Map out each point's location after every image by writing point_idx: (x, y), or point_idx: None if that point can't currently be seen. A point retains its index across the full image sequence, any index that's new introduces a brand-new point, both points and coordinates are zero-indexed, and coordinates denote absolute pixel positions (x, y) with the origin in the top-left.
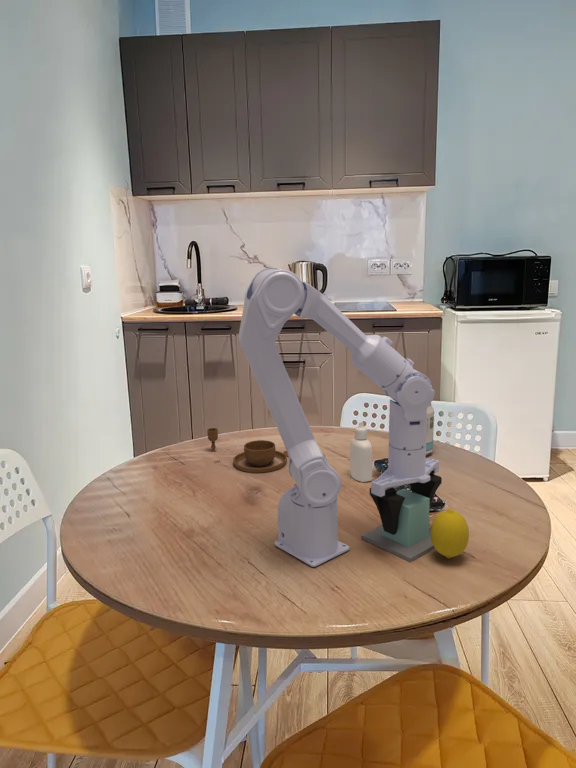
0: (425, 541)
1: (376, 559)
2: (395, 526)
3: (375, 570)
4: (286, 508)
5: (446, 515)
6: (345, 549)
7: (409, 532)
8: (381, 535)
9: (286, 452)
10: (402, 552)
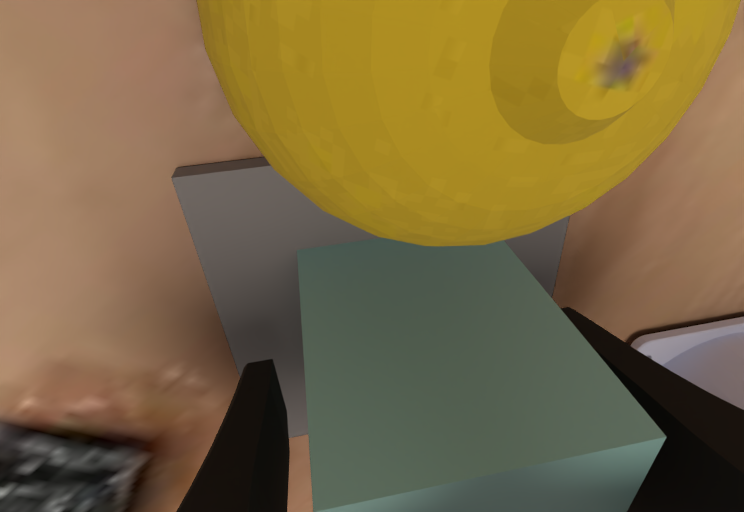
0: None
1: (639, 233)
2: (617, 338)
3: (732, 166)
4: None
5: (715, 21)
6: (667, 338)
7: (521, 274)
8: None
9: None
10: None
